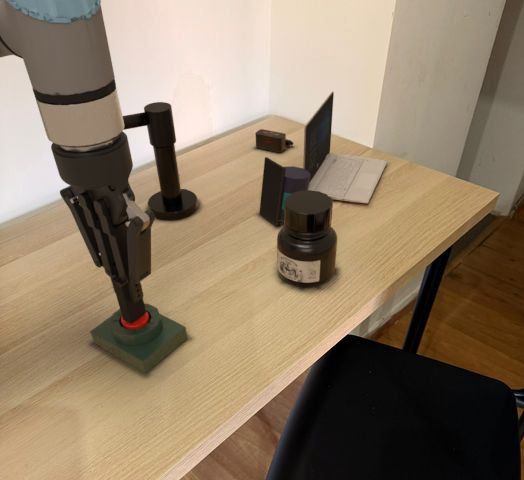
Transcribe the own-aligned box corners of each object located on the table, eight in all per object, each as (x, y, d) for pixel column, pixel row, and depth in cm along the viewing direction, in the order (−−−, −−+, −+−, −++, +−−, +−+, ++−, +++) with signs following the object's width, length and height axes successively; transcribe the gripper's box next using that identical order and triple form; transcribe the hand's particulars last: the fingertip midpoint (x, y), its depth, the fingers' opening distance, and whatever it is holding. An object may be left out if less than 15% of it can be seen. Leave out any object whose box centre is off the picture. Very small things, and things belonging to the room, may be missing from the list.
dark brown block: (284, 154, 113) (284, 139, 110) (254, 148, 115) (254, 133, 113) (293, 146, 116) (294, 131, 113) (265, 140, 118) (264, 125, 116)
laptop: (367, 206, 96) (376, 135, 87) (301, 196, 100) (303, 126, 91) (387, 163, 108) (396, 97, 99) (327, 155, 112) (331, 90, 103)
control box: (93, 343, 72) (86, 321, 70) (136, 311, 77) (130, 289, 74) (145, 373, 68) (140, 351, 65) (187, 338, 73) (183, 316, 70)
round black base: (138, 211, 97) (125, 147, 89) (172, 191, 102) (162, 128, 94) (174, 225, 93) (164, 160, 85) (207, 204, 99) (200, 140, 90)
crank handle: (176, 166, 95) (167, 100, 87) (183, 176, 93) (174, 109, 84) (89, 184, 91) (71, 116, 83) (94, 195, 88) (75, 126, 80)
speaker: (267, 229, 91) (271, 170, 85) (259, 214, 95) (262, 157, 89) (309, 226, 93) (316, 168, 86) (298, 211, 97) (305, 155, 91)
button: (117, 329, 70) (115, 319, 69) (137, 314, 72) (135, 304, 71) (136, 340, 69) (134, 330, 68) (156, 324, 71) (154, 314, 70)
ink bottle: (264, 270, 83) (261, 200, 75) (303, 248, 87) (305, 179, 79) (309, 298, 78) (312, 226, 70) (348, 272, 82) (355, 202, 74)
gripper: (161, 137, 52) (191, 319, 68) (75, 111, 58) (121, 284, 74) (103, 166, 48) (149, 352, 64) (16, 134, 53) (79, 313, 70)
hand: (134, 315), depth 69 cm, fingers closed
